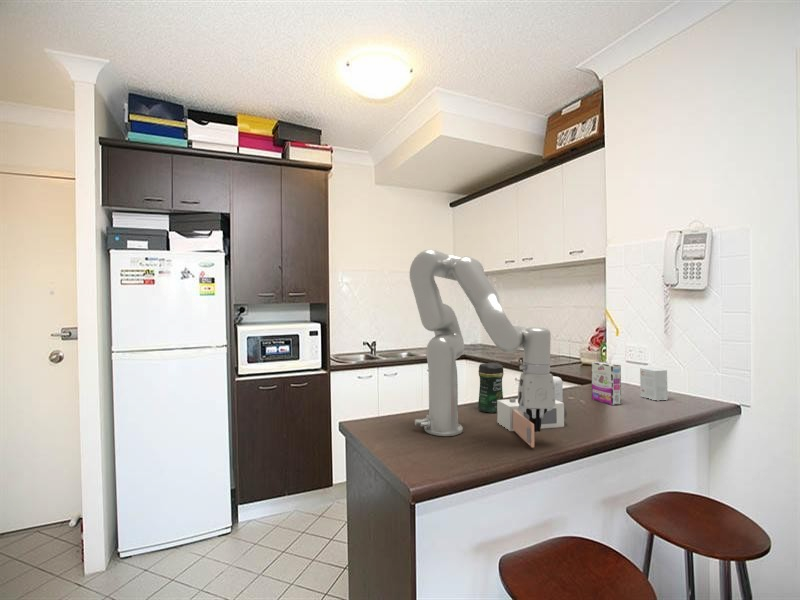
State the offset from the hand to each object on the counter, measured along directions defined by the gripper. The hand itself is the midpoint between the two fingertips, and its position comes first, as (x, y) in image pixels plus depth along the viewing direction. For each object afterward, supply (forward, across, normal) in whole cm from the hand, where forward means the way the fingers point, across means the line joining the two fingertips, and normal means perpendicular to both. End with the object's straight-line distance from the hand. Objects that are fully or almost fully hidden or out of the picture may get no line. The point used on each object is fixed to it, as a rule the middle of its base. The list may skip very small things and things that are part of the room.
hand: (535, 430), depth 114 cm
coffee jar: (+5, +3, +36) cm, 37 cm away
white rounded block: (+4, +29, +35) cm, 46 cm away
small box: (+3, +80, +37) cm, 88 cm away
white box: (+4, +9, +16) cm, 19 cm away
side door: (+3, -3, +3) cm, 5 cm away
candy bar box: (+3, +56, +37) cm, 67 cm away
